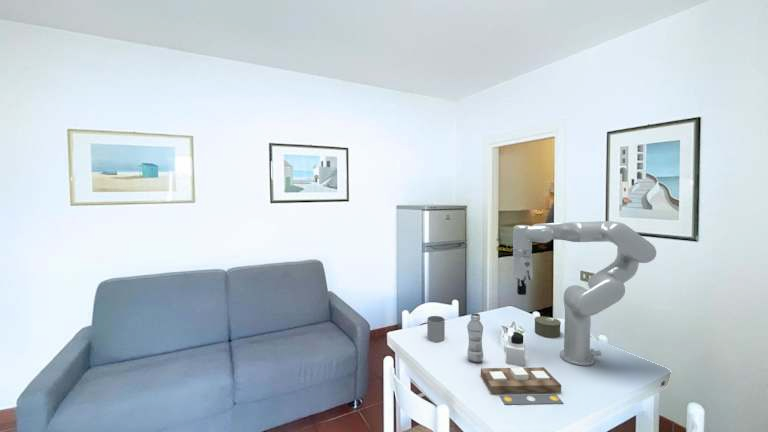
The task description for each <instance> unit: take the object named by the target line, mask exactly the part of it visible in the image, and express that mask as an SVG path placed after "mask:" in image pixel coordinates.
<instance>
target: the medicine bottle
mask: <svg viewBox="0 0 768 432" xmlns="http://www.w3.org/2000/svg"><path fill="white" fill-rule="evenodd" d="M507 335H508V336H507V342H506V345H505V363H506V364H510V365H516V366H520V367H525V363H526V361H525V360H526V359H525V358H526V343H525V342H524V335H523V334H522V333H520V332H519V331H510V332H508V334H507Z"/></svg>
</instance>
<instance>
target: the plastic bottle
mask: <svg viewBox="0 0 768 432" xmlns="http://www.w3.org/2000/svg"><path fill="white" fill-rule="evenodd" d="M480 315H481V314H480V313H477V312H473V313H471V314H470V320H469V322H468V323H467V325H466V326H467V327H466V328H467V336H468V347H467V351H466V354H467V358H468V359H469V361H470V362H474V363H481V362H482V361H483V359H484V351H483V340H482V339H483V333H484V326H483V324H482V321H480V320H481V316H480Z"/></svg>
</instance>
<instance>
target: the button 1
mask: <svg viewBox="0 0 768 432" xmlns="http://www.w3.org/2000/svg"><path fill="white" fill-rule="evenodd" d="M489 375H490V377H491V378H492V380H493V381H507V378H506V377H505V375H504V374H503V373H502V371H493V372H489Z"/></svg>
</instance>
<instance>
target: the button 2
mask: <svg viewBox="0 0 768 432" xmlns="http://www.w3.org/2000/svg"><path fill="white" fill-rule="evenodd" d="M531 374H532V375H533V377H534V378H535V379H536V380H550V377H549V376H548V375H547V374H546V373H545V372H544V371H531Z"/></svg>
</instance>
